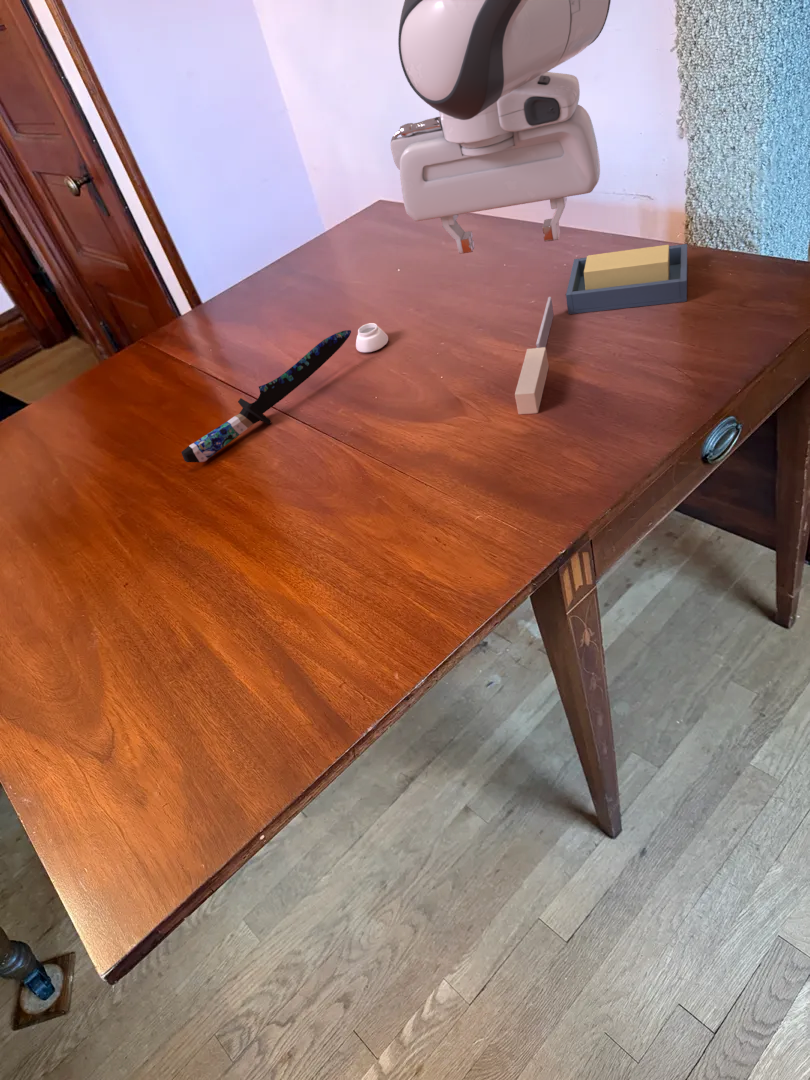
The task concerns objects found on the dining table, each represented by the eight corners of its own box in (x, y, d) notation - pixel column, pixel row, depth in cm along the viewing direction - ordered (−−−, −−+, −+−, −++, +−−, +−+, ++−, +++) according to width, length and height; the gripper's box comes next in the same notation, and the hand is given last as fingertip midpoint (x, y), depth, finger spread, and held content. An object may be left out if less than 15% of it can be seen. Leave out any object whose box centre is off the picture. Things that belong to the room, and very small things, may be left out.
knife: (199, 478, 102) (181, 455, 99) (190, 470, 104) (173, 446, 101) (367, 351, 109) (356, 325, 106) (356, 345, 111) (344, 320, 108)
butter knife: (538, 413, 90) (534, 392, 88) (518, 414, 91) (514, 394, 89) (561, 315, 105) (558, 295, 103) (544, 317, 106) (541, 297, 104)
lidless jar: (365, 358, 111) (394, 343, 112) (359, 341, 109) (389, 326, 110) (352, 347, 115) (380, 333, 116) (346, 330, 113) (374, 316, 114)
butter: (669, 271, 105) (669, 244, 102) (668, 289, 102) (668, 261, 99) (589, 281, 109) (587, 255, 106) (586, 298, 106) (583, 272, 103)
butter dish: (687, 263, 106) (687, 243, 104) (686, 301, 99) (686, 280, 97) (576, 277, 112) (574, 258, 110) (568, 314, 105) (565, 294, 103)
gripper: (377, 139, 74) (412, 271, 83) (588, 95, 66) (601, 245, 76) (393, 117, 78) (425, 245, 87) (594, 73, 70) (606, 218, 80)
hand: (508, 245), depth 81 cm, fingers open, 8 cm apart
